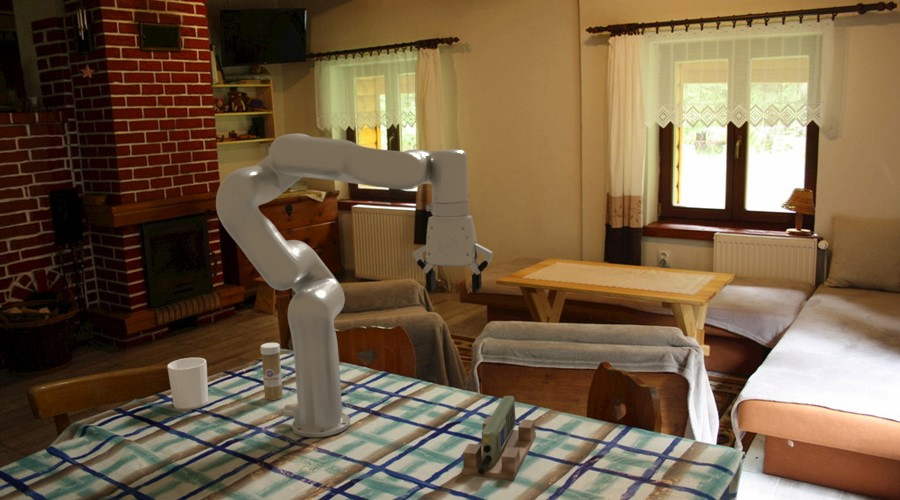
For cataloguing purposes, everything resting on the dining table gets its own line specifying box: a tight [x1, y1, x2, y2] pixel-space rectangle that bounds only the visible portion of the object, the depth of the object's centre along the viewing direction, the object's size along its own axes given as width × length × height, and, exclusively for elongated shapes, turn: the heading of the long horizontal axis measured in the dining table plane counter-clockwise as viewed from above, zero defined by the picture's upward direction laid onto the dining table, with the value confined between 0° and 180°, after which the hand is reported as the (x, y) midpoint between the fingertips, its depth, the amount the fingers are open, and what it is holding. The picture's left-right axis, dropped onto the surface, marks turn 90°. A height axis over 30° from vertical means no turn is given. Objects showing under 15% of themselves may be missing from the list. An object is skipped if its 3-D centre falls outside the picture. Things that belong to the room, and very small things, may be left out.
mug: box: [167, 357, 209, 411], centre depth 189 cm, size 11×9×10 cm
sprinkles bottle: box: [259, 342, 284, 401], centre depth 191 cm, size 5×5×13 cm
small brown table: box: [461, 415, 537, 481], centre depth 155 cm, size 10×20×4 cm, turn 162°
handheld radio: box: [478, 395, 517, 475], centre depth 154 cm, size 7×3×25 cm
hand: (453, 291), depth 164 cm, fingers open, 9 cm apart
